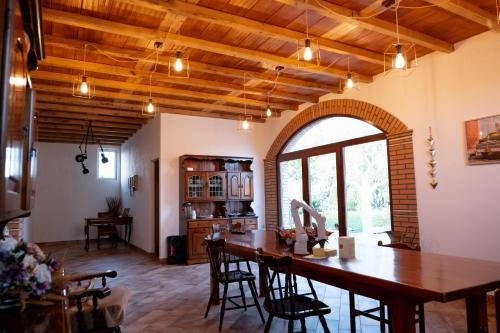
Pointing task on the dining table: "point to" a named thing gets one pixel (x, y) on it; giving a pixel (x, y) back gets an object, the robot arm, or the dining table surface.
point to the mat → (315, 257)
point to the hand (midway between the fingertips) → (322, 249)
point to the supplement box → (346, 247)
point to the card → (318, 251)
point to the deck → (330, 252)
